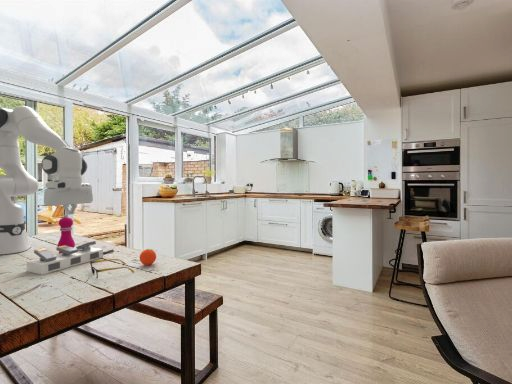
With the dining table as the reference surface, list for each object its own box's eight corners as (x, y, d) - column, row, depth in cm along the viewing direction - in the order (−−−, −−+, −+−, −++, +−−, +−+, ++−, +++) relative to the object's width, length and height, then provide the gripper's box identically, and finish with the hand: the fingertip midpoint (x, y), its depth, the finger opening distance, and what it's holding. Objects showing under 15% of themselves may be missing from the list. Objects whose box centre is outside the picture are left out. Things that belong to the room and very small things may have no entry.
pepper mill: (66, 256, 136) (65, 215, 135) (53, 255, 138) (53, 214, 137) (78, 252, 143) (78, 213, 142) (66, 252, 145) (65, 213, 144)
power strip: (26, 271, 115) (26, 258, 114) (106, 250, 149) (106, 240, 148) (42, 274, 111) (42, 261, 110) (120, 252, 145) (120, 242, 145)
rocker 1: (33, 252, 117) (34, 249, 116) (43, 250, 120) (44, 247, 120) (46, 261, 114) (47, 258, 113) (56, 259, 117) (56, 256, 117)
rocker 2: (56, 250, 125) (56, 246, 125) (64, 248, 128) (65, 244, 128) (69, 254, 122) (69, 250, 122) (77, 252, 125) (77, 248, 125)
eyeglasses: (88, 270, 118) (88, 261, 117) (125, 264, 127) (125, 255, 126) (94, 280, 106) (94, 270, 106) (134, 273, 115) (134, 263, 115)
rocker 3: (76, 249, 133) (76, 246, 133) (84, 248, 137) (83, 245, 137) (88, 245, 130) (87, 242, 130) (96, 243, 133) (95, 240, 134)
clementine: (154, 261, 131) (154, 245, 130) (161, 264, 126) (161, 248, 126) (137, 264, 125) (136, 248, 125) (143, 268, 120) (143, 251, 120)
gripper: (87, 183, 137) (86, 211, 138) (41, 183, 118) (41, 216, 119) (96, 183, 135) (95, 212, 136) (50, 184, 116) (50, 217, 117)
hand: (69, 214), depth 127 cm, fingers closed
